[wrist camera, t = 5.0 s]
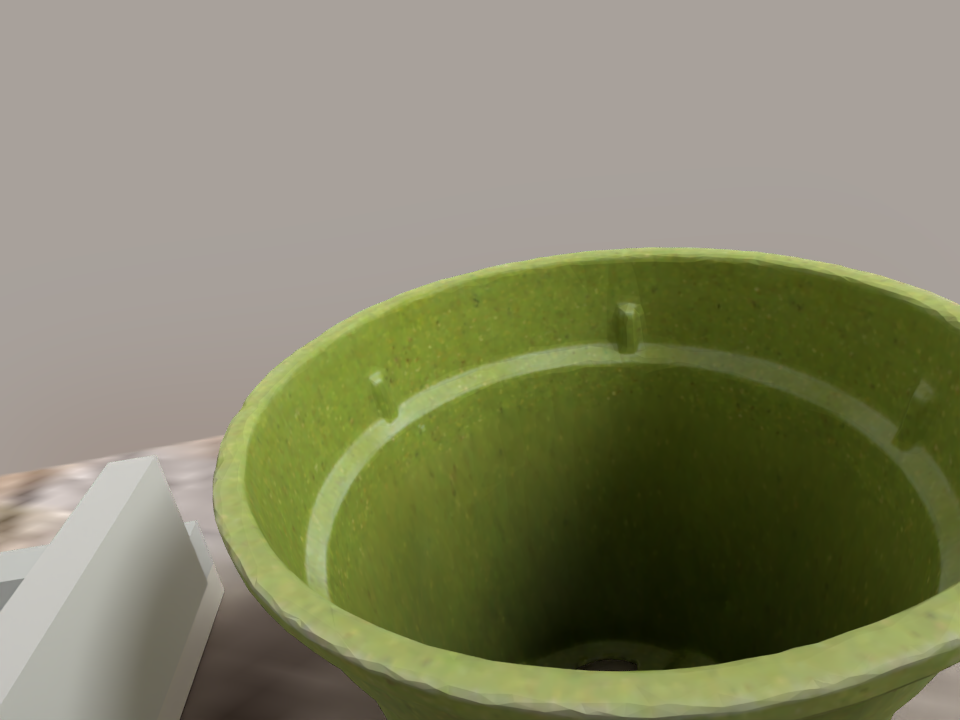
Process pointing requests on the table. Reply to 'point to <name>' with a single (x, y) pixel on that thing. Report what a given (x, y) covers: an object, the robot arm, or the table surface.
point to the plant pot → (615, 491)
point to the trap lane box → (11, 567)
